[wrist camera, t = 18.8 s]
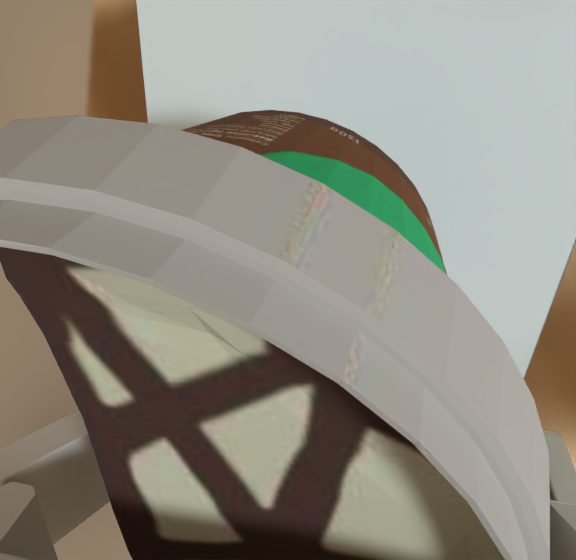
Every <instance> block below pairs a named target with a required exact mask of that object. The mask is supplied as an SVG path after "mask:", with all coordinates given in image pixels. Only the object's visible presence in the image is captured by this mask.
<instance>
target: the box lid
mask: <svg viewBox="0 0 576 560" xmlns="http://www.w3.org/2000/svg"><path fill="white" fill-rule="evenodd" d="M136 3H137V14H138V24H139V35H140V45H141V55H142V66H143V76H144V87H145V97H146V107H147V118H148V123H153V124H160V125H163V126H167V127H171V128H174V129H178V130H183V129H187V128H190V127H193V126H197V125H200V124H203V123H207V122H210V121H213V120H217V119H220V118H223V117H226V116H230V115H233V114H236V113H240V112H249V111H262V110H278V111H289V112H299V113H303V114H307V115H311V116H315V117H319V118H323V119H327V120H329V121H331V122H334V123H336V124H338V125H341V126H343V127H345V128H347V129H350V130H352V131H354V132H356V133H357V134H359V135H360V136H362V137H363V138H365V139H367V140H368V141H370V142H371V143H373V144H375V145H376V146H378V147H379V148H380V149H381V150H382V151H383V152H384V153H385V154H387V155H388V156H389V157H390V158H391V159H392V160H393V161H394V162H396V163H397V164H398V165H399V167H400V168H401V169H402V170H403V172H404V173H405V174H406V175H407V177H408V178H409V179H410V180H411V181H412V183H413V184H414V185H415V187H416V189H417V191H418V192H419V194H420V196H421V198H422V200H423V201H424V203H425V205H426V207H427V209H428V212H429V215H430V218H431V221H432V224H433V227H434V230H435V233H436V237H437V241H438V244H439V248H440V251H441V255H442V258H443V262H444V265H445V269H446V272H447V276H449V277H450V278H451V279H452V280H453V281H454V282H455V283H456V284H458V286H459V287H460V288H461V289H462V291H463V292H464V293H465V294H466V296H467V297H468V298H469V299H470V301H471V302H472V303H473V304H474V306H475V307H476V308H477V309H478V310H479V312H480V313H481V314H482V315H483V317H484V318H485V319H486V320H487V322H488V323H489V324H490V325H491V327H492V328H493V329H494V330H495V332H496V333H497V334H498V335H499V337H500V338H501V339H502V340H503V342H504V343H505V345H506V347H507V349H508V351H509V353H510V355H511V356H512V358H513V360H514V362H515V364H516V366H517V368H518V370H519V371H520V373H521V375H522V377H523V378H524V375H525V373H526V370H527V367H528V365H529V362H530V359H531V356H532V354H533V351H534V348H535V346H536V343H537V340H538V338H539V335H540V332H541V330H542V327H543V324H544V322H545V319H546V316H547V314H548V311H549V308H550V306H551V303H552V300H553V297H554V295H555V292H556V289H557V287H558V284H559V281H560V279H561V276H562V273H563V271H564V268H565V265H566V263H567V260H568V257H569V255H570V252H571V249H572V247H573V244H574V241H575V238H576V0H136Z"/></svg>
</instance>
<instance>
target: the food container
mask: <svg viewBox="0 0 576 560" xmlns="http://www.w3.org/2000/svg"><path fill="white" fill-rule="evenodd" d="M0 262H1V264H2V267H3V270H4V273H5V275H6V278H7V279H8V281H9V282H10V283H11V285H12V286H13V287H14V289H15V290H16V291H17V293H18V294H19V295H20V297H21V298H22V300H23V302H24V303H25V305H26V306H27V308H28V309H29V311H30V313H31V315H32V316H33V318H34V319H35V321H36V323H37V324H38V326H39V327H40V329H41V330H42V332H43V334H44V336H45V338H46V340H47V342H48V344H49V346H50V348H51V351H52V353H53V355H54V357H55V359H56V361H57V363H58V366H59V368H60V370H61V372H62V374H63V376H64V378H65V381H66V383H67V385H68V387H69V389H70V391H71V394H72V396H73V398H74V400H75V402H76V404H77V406H78V408H79V411H80V413H81V415H82V417H83V420H84V423H85V426H86V429H87V432H88V435H89V438H90V441H91V444H92V447H93V450H94V453H95V456H96V459H97V462H98V466H99V469H100V472H101V475H102V478H103V481H104V484H105V487H106V490H107V493H108V496H109V499H110V502H111V505H112V508H113V511H114V514H115V517H116V519H117V522H118V525H119V527H120V529H121V532H122V535H123V538H124V540H125V543H126V545H127V548H128V551H129V553H130V555H131V557H132V559H133V560H550V483H549V451H548V448H547V444H546V440H545V437H544V433H543V430H542V426H541V422H540V419H539V415H538V412H537V408H536V404H535V401H534V398H533V396H532V394H531V392H530V390H529V388H528V387H527V385H526V383H525V381H524V379H523V377H522V375H521V373H520V371H519V370H518V368H517V366H516V364H515V362H514V360H513V358H512V356H511V355H510V353H509V351H508V349H507V347H506V345H505V343H504V342H503V340H502V339H501V338H500V337H499V335H498V334H497V333H496V332H495V330H494V329H493V328H492V327H491V325H490V324H489V323H488V322H487V320H486V319H485V318H484V317H483V315H482V314H481V313H480V312H479V310H478V309H477V308H476V307H475V306H474V304H473V303H472V302H471V301H470V299H469V298H468V297H467V296H466V294H465V293H464V292H463V291H462V289H461V288H460V287H459V286H458V284H456V283H455V282H454V281H453V280H452V279H451V278H450V277H449V276H447V272H446V269H445V265H444V262H443V258H442V255H441V251H440V248H439V244H438V241H437V237H436V233H435V230H434V227H433V224H432V221H431V218H430V215H429V212H428V209H427V207H426V205H425V203H424V201H423V200H422V198H421V196H420V194H419V192H418V191H417V189H416V187H415V185H414V184H413V183H412V181H411V180H410V179H409V178H408V177H407V175H406V174H405V173H404V172H403V170H402V169H401V168H400V167H399V165H398V164H397V163H396V162H394V161H393V160H392V159H391V158H390V157H389V156H388V155H387V154H385V153H384V152H383V151H382V150H381V149H380V148H379V147H378V146H376V145H375V144H373V143H371V142H370V141H368V140H367V139H365V138H363V137H362V136H360V135H359V134H357V133H356V132H354V131H352V130H350V129H347V128H345V127H343V126H341V125H338V124H336V123H334V122H331V121H329V120H327V119H323V118H319V117H315V116H311V115H307V114H303V113H299V112H289V111H278V110H262V111H249V112H240V113H236V114H233V115H230V116H226V117H223V118H220V119H217V120H213V121H210V122H207V123H203V124H200V125H197V126H193V127H190V128H187V129H183V130H178V129H174V128H171V127H167V126H163V125H160V124H153V123H144V122H134V121H125V120H115V119H106V118H96V117H87V116H64V117H50V118H36V119H22V120H13V121H12V122H10V123H9V124H7V125H6V126H4V127H3V128H1V129H0Z"/></svg>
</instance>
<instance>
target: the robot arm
mask: <svg viewBox="0 0 576 560" xmlns="http://www.w3.org/2000/svg"><path fill="white" fill-rule="evenodd" d="M543 433H544V437H545V440H546V444H547V448H548V451H549V483H550V560H576V470H575V468H574V465H573V462H572V460H571V457H570V455H569V452H568V449H567V447H566V444H565V442H564V439H563V437H562V436H561V435H560V434H559V433H558V432H553V431H547V430H543ZM109 501H110V499H109V496H108V493H107V490H106V487H105V484H104V481H103V478H102V475H101V472H100V469H99V466H98V462H97V459H96V456H95V453H94V450H93V447H92V444H91V441H90V438H89V435H88V432H87V429H86V426H85V423H84V420H83V417H82V415H81V413H80V411H79V410H78V411H76V412H74V413H72V414H70V415H68V416H66V417H64V418H62V419H59V420H57V421H55V422H53V423H51V424H49V425H47V426H45V427H43V428H41V429H39V430H37V431H35V432H33V433H30V434H28V435H26V436H24V437H22V438H20V439H18V440H16V441H14V442H12V443H10V444H8V445H6V446H4V447H2V448H0V560H58V559H57V555H56V552H55V550H54V547H53V544H55V543H56V542H57V541H58V540H60V539H61V538H62V537H64V536H65V535H66V534H68V533H69V532H70V531H71V530H73V529H74V528H75V527H77V526H78V525H79V524H80V523H82V522H83V521H84V520H86V519H87V518H88V517H90V516H91V515H92V514H93V513H95V512H96V511H97V510H99V509H100V508H101V507H103V506H104V505H105V504H106V503H108V502H109Z"/></svg>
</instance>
